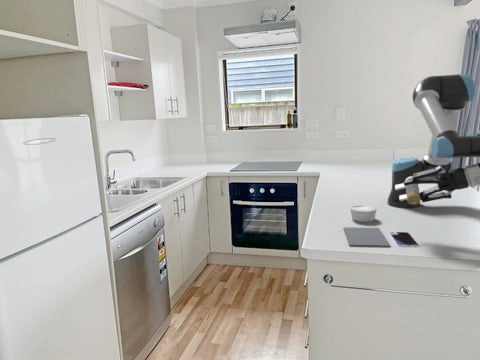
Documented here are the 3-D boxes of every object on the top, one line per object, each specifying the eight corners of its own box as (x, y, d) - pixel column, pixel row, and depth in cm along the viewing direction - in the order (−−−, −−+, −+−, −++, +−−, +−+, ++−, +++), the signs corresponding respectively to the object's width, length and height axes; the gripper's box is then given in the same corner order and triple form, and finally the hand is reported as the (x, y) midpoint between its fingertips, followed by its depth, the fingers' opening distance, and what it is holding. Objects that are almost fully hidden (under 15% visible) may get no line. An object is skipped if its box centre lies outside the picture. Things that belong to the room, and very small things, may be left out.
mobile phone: (397, 244, 126) (388, 231, 140) (397, 247, 126) (387, 233, 141) (420, 245, 125) (408, 231, 139) (420, 248, 125) (408, 234, 139)
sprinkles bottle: (414, 207, 130) (412, 187, 141) (423, 199, 127) (420, 180, 138) (403, 200, 130) (402, 181, 141) (413, 192, 127) (410, 173, 138)
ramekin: (362, 214, 167) (363, 203, 166) (381, 220, 157) (382, 208, 156) (344, 218, 162) (344, 207, 161) (363, 224, 152) (363, 212, 151)
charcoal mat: (343, 228, 148) (343, 227, 148) (378, 229, 145) (378, 227, 145) (349, 246, 128) (349, 244, 128) (390, 247, 126) (390, 245, 126)
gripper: (462, 161, 119) (390, 179, 131) (474, 202, 125) (404, 216, 137) (458, 151, 125) (390, 169, 137) (470, 191, 131) (404, 205, 143)
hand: (397, 193), depth 137 cm, fingers closed on sprinkles bottle, 4 cm apart
